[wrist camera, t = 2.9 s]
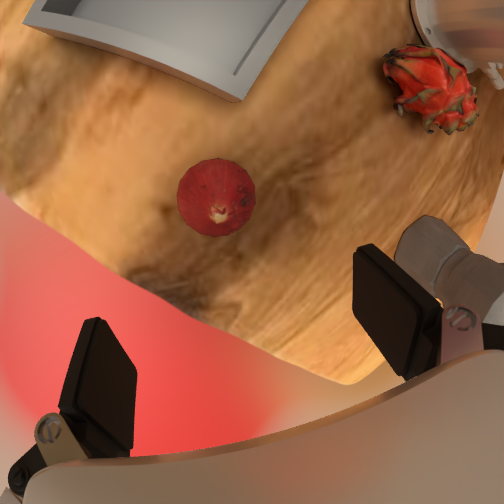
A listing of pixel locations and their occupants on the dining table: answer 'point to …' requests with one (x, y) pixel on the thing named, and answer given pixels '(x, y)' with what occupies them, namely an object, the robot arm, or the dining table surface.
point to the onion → (216, 197)
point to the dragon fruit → (432, 87)
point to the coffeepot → (452, 269)
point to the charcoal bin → (177, 35)
